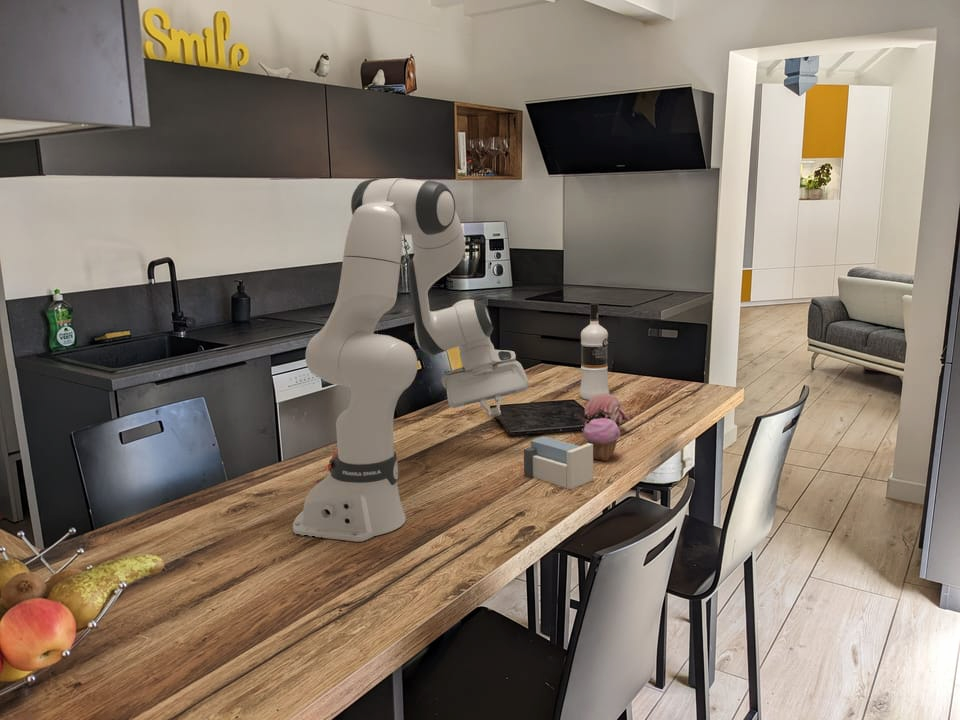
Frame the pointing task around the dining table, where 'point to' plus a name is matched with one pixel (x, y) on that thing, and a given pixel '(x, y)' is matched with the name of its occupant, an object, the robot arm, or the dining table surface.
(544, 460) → the frame
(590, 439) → the cupcake
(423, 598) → the dining table surface
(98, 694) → the dining table surface
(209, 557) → the dining table surface
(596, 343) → the vodka
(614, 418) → the toy
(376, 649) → the dining table surface
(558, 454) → the grey rectangular box
